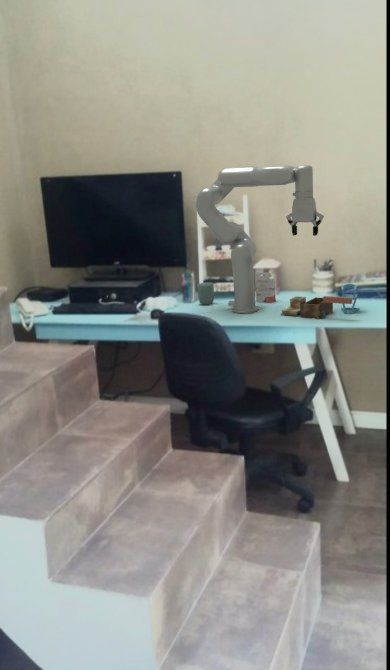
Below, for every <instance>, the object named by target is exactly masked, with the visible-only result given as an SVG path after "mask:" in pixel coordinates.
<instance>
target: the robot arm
mask: <svg viewBox="0 0 390 670" xmlns="http://www.w3.org/2000/svg"><path fill="white" fill-rule="evenodd" d="M313 171H314V169H313V166H312V165H307V164H305V165H298V166H290V165H289V166H288V165H285V166H274V167H273V166H272V167H269V166H268V167H259V166H238V167H236V166H235V167H224V168H222V169H220V171H218V173H217V174H218V175H217V179H215V181H214V182H213V183H212V184H210V186H205V187H203V188H202V189H200V191H199V192H198V194H197V195H196V198H195V199H196V200H195V208H196V209H195V210H196V212H197V215H198V216H199V218H200V219H201V220H202V221H203V223H204V225H206V226H207V227H208V229H209V230H210V231H211V233H213V234H214V236H215V237H216V238H217V240H218V241H219V242H220V243H221V244H223V245H227V246H228V245H229V246H230V247H231V252H230V261H231V266H232V267H231V268H232V277H233V295H234V296H233V297H234V300H229V301H228V303H227V305H228V306H231V307H232V308H231V312H233V313H235V314H251V313H256V312H258V311H259V310H260V307H259V305H256V288H255V269H254V262H253V261H254V260H253V258H254V257H255V256H256V253H257V246H256V244H255V242H254V240H252V238H251V237H250V236H249V235H248V234H247V232H246V231H245V230H244V229H243V228H242V227H241V226H240V225H239V224H238V223H236V222H235V221H228V220H227V218H226V217H225V216H224V215H223V213H222V212H221V211H220V210H219V209H217V207H216V205H218V204H220V203H221V202H223V200H224V199H225V198H226V197H227V196H228V195H229V194H230V193H231V192H232V191H233V190H234V188H246V187H247V188H250V187H251V188H252V187H263V186H264V187H265V186H286V185H288V184H289V185H290V184H293V183H294V192H293V193H292V196H293V197H294V199H293V201H292V207H291V208H292V209H291V213H289V214H287V215H286V216H285V217H286V220H287V223H288V224H289V225H290V227H291V233H292V236H297V235H298V225H297V224H298V223H311V224H312V225H313V226H312V236H314V237H316V236H318V234H319V226H320V224H322V222H323V219H324V217H325V215H324V214H321V213H319V212H318V211H317V203H316V199H315V198H314V176H313V175H314V172H313Z"/></svg>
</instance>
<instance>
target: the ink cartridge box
mask: <svg viewBox="0 0 390 670" xmlns="http://www.w3.org/2000/svg"><path fill="white" fill-rule="evenodd" d="M275 279H276V278H275V277H272V276H271V275H270V272H264V271H263V272H262V271H261V272H260V271H254V284H255V303H265V304H266V303H267V304H272V303H275V302H276V299H277V298H276V282H275Z"/></svg>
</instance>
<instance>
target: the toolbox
mask: <svg viewBox="0 0 390 670" xmlns="http://www.w3.org/2000/svg"><path fill="white" fill-rule="evenodd" d="M333 307H334V303H324V302H323V297H314V298H311V299H309V300H306V302H305V300H302V301H300V316H299V317H300V318H302V319H312V318H315V319H314V320H324V319H326V316H328V315H330V314H331V313H333V312H334V308H333Z"/></svg>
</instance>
